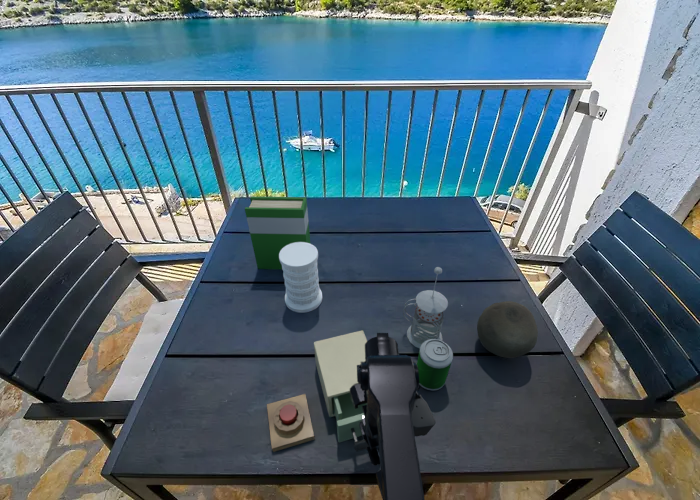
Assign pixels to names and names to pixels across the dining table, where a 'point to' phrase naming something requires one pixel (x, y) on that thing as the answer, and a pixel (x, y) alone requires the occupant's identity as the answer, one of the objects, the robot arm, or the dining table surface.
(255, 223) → the hardback book
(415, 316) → the french press
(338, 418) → the drawer
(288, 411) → the red button
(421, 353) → the soda can
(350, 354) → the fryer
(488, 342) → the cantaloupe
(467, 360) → the dining table surface
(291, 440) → the control block
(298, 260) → the decorative container
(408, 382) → the robot arm
